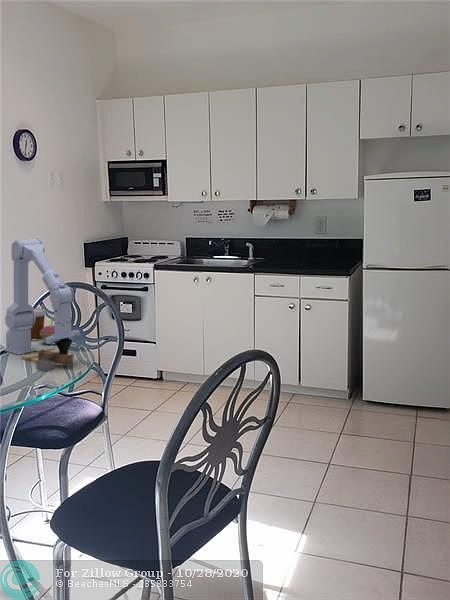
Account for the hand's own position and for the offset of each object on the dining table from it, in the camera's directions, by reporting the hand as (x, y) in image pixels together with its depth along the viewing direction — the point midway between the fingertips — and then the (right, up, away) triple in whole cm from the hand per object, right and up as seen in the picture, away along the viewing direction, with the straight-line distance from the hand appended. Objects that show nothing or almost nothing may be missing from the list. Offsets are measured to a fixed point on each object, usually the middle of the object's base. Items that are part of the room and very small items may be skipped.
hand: (63, 359), depth 217 cm
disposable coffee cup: (-22, +5, +37) cm, 43 cm away
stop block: (-5, -3, -4) cm, 7 cm away
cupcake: (-13, +3, +30) cm, 33 cm away
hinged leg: (-3, -1, 0) cm, 3 cm away
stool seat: (-8, 0, +9) cm, 12 cm away
